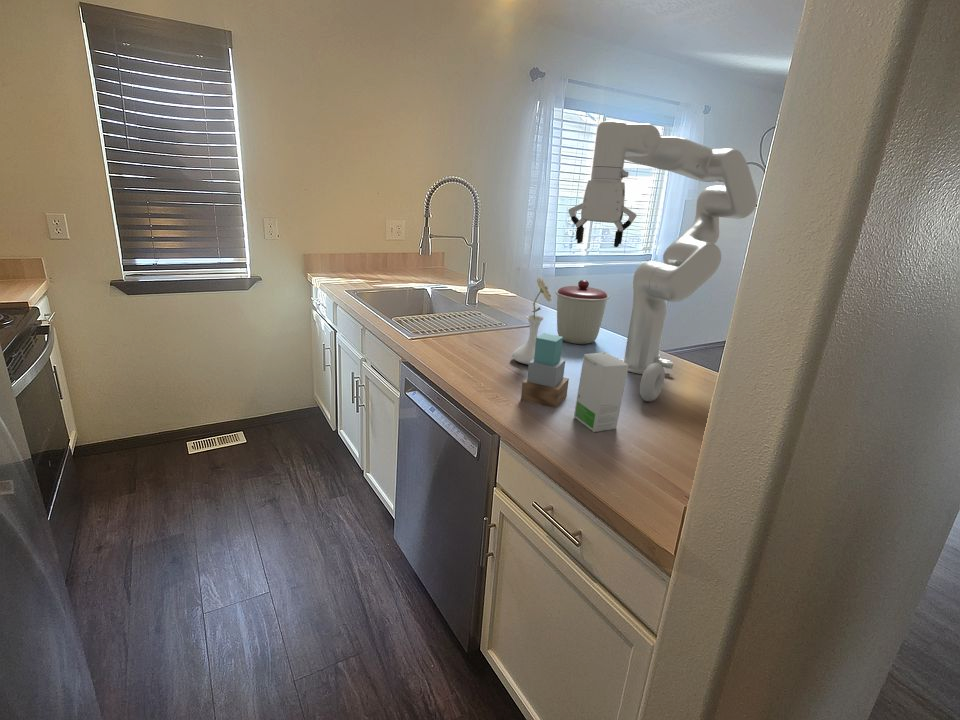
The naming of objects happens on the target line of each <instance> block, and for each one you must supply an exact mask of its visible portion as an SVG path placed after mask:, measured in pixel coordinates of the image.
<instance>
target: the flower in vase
mask: <svg viewBox="0 0 960 720" xmlns="http://www.w3.org/2000/svg"><path fill="white" fill-rule="evenodd" d="M536 283H537V285H538V288H539V292H538V294H537V295H536V297H535V298H534V302H533V301H532V305H533V311H532V313H533V314H529V315H526V319H527V321H528V323H529V337H528V340H527V341H526V342H525V343H523V345H521V346H519V347H518V348H516V349H515V350H514V351H513V352H512V355H511V356H512V358H513V359H514V361H516V362H518V363H521V364H524V365H529V362H530V361H531V360H532V359H534V355H535V345H536V338H537V337H538V333H539V332H538V331H539V327H540V325H541V322H542V321H543V320H544V317H543V316H541V315H536V312H538V311H540V310H542V309H541V307H540V306H539V307H538V308H537V307H536V301H537V299H538V298H539V296H540V294H542V295H543V297H544V298H545V299H546V301H547V302H548V303H550V302H551V301H552V298H551V297H552V295H551V294H550V292H549V290H548V289H549V288H548V286H547V285H546V283H544V279H542V278H541V277H538V278H536Z"/></svg>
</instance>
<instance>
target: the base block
mask: <svg viewBox="0 0 960 720" xmlns="http://www.w3.org/2000/svg"><path fill="white" fill-rule="evenodd" d="M569 380H570V378H568V377H564V376H563V380H562V381H561V382H560V383H559V384H558V385H557V386H556V387H555V388H553V387H549V386H544V385H540V384H535V383H531V382H527V378H525V379H524V380H523V381H522V384H521V385H522V386H521V392H520V393H521V394H520V401H523V402H528V403H531V404H534V405H535V404H536V405H540V406H545V407H549V408H552V409H557V408H558V406H560V404H561V403H562V402H563V401H564V399H565V398H566V397H568V388H569V387H568V386H569Z"/></svg>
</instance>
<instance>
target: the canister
mask: <svg viewBox="0 0 960 720" xmlns="http://www.w3.org/2000/svg"><path fill="white" fill-rule="evenodd" d="M554 293H555V294H556V327H557V328H556V331H557V336H561V337H563V341H564V342H566V343H570V344H575V345H588V344H591V343H593V342H595V341H596V339H597V338H598V335H599V333H600V329H601V325H602V322H603V317H604V314H605V309H606V307H607V306H606V305H607V301H608V300H609V299H610V295H609V294H607V293H606V292H605V291H604V290H602V289H599V288H595V287H591V286H590V282H589V281H588V280H586V279H581V280H579V281H578V284H577V285H567V286H563V287H560V288H559V289H556V290H555V292H554Z"/></svg>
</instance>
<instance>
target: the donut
mask: <svg viewBox="0 0 960 720" xmlns="http://www.w3.org/2000/svg"><path fill="white" fill-rule="evenodd" d="M664 368H665V367H663V366H661V365H660V364H659V363H652V364H650V365H649V366H648V367H647V368H646V370H645V371H644V373H643V374H641V375H642V376H641V378H640V383H639V395H640V396H641V398H642V399H643V400H644V401H645V402H653V401H655V400H657V398H658V397H659V396H660V393H661V391H662V389H663V385H664V381H665V376H666V375H665V369H664Z"/></svg>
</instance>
